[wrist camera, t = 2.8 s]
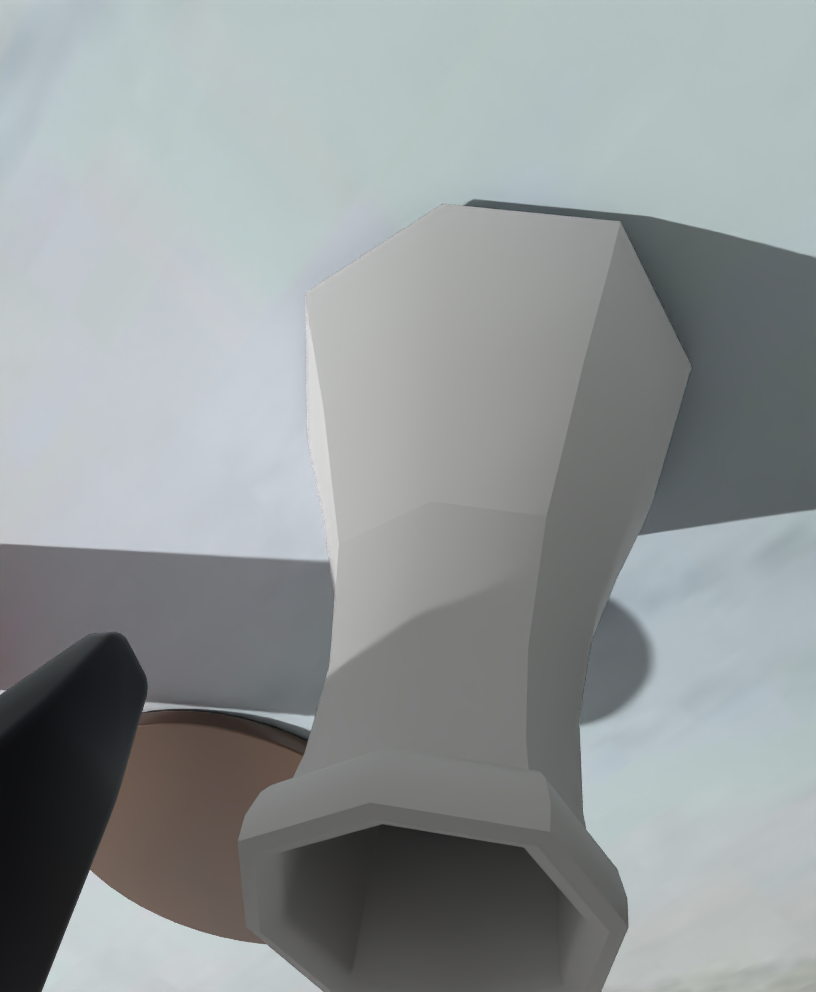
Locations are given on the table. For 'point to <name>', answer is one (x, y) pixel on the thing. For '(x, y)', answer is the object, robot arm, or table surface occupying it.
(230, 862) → the coaster
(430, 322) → the flask
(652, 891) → the table surface
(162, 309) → the table surface
